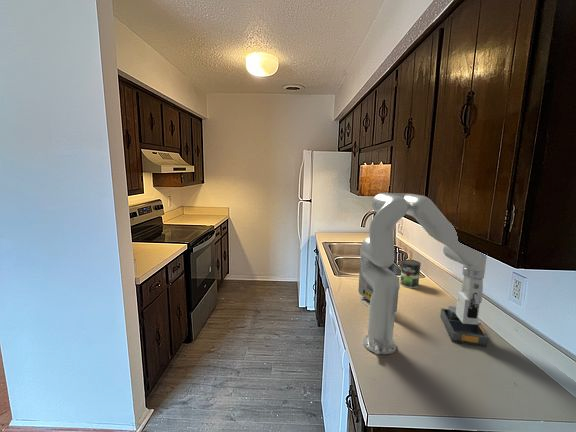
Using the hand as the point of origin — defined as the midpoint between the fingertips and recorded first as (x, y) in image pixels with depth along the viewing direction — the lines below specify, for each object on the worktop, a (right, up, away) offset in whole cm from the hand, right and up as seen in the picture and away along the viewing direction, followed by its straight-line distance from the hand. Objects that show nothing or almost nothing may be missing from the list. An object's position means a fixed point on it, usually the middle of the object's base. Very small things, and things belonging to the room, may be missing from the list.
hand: (468, 312), depth 125 cm
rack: (+1, -10, +7) cm, 12 cm away
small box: (-1, -4, +1) cm, 4 cm away
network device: (-30, -6, +28) cm, 42 cm away
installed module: (+2, -9, +12) cm, 15 cm away
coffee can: (-2, -1, +55) cm, 55 cm away
